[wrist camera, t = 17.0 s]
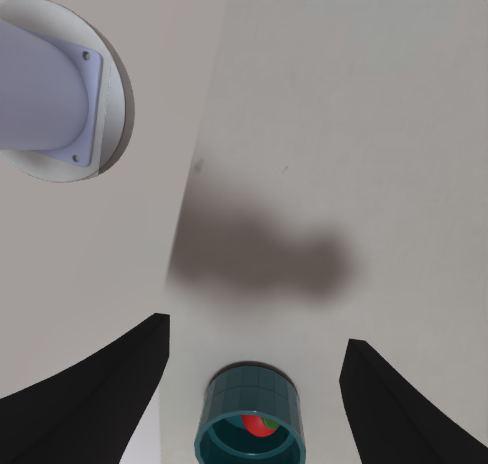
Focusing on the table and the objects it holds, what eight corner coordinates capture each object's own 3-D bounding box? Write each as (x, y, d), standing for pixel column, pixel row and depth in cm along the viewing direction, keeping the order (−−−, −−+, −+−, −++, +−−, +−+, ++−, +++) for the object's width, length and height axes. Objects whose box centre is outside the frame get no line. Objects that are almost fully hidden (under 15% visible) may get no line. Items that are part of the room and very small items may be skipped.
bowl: (197, 417, 25) (183, 473, 20) (220, 349, 22) (210, 397, 18) (280, 442, 25) (283, 503, 21) (311, 377, 23) (323, 431, 18)
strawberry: (229, 423, 21) (247, 435, 18) (242, 380, 23) (261, 384, 20) (263, 436, 22) (286, 449, 19) (273, 393, 24) (296, 399, 21)
